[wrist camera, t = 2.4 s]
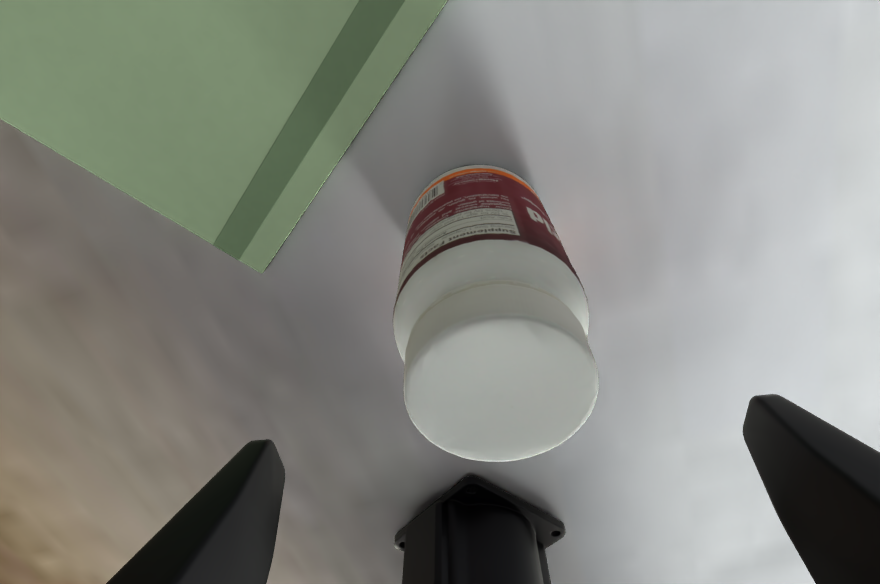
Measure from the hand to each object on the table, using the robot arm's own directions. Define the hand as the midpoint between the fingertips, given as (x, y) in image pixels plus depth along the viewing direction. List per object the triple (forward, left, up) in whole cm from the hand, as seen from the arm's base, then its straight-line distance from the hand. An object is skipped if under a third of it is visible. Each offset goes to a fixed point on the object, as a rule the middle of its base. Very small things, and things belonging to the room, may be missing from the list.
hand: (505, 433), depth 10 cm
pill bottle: (0, 0, -9) cm, 9 cm away
